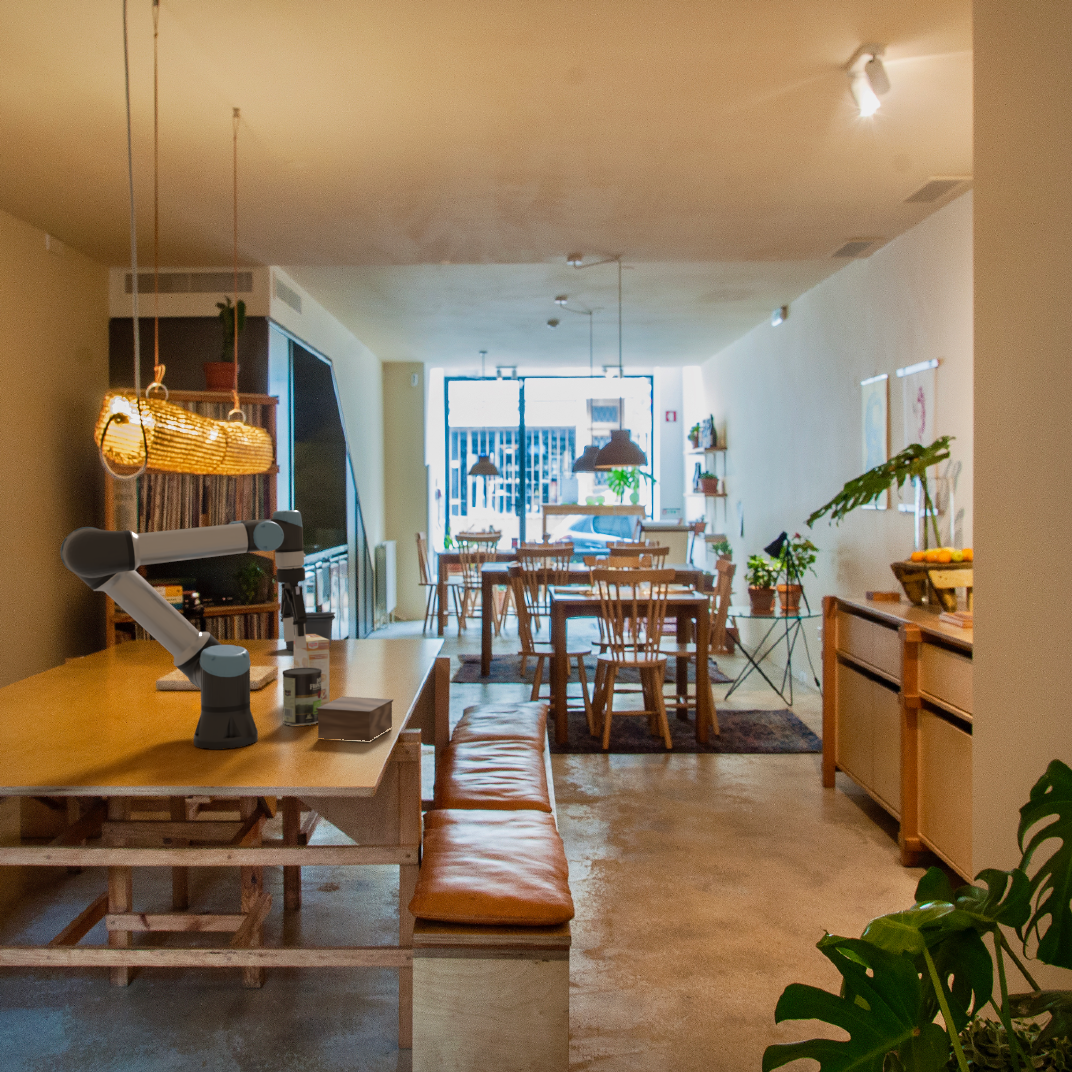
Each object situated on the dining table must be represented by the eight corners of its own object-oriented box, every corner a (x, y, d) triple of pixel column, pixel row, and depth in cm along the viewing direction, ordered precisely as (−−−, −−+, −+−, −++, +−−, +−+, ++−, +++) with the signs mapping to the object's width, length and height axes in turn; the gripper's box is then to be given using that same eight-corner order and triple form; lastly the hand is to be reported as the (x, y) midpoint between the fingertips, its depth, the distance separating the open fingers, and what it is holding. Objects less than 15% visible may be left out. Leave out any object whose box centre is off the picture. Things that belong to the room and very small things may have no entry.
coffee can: (328, 718, 256) (327, 667, 255) (311, 727, 246) (311, 674, 245) (293, 716, 258) (293, 666, 258) (276, 725, 248) (275, 673, 247)
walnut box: (370, 743, 229) (369, 711, 229) (316, 739, 233) (316, 708, 233) (393, 729, 244) (393, 699, 243) (342, 726, 247) (342, 696, 247)
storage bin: (278, 651, 370) (278, 616, 370) (285, 645, 386) (285, 611, 385) (332, 651, 372) (332, 615, 372) (337, 645, 388) (337, 611, 387)
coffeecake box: (330, 705, 273) (330, 639, 272) (306, 707, 269) (306, 641, 269) (316, 696, 286) (315, 633, 285) (293, 698, 282) (292, 634, 282)
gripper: (315, 569, 242) (320, 649, 243) (293, 563, 264) (298, 636, 266) (286, 571, 239) (291, 653, 240) (266, 565, 261) (271, 639, 262)
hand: (295, 644), depth 253 cm, fingers open, 13 cm apart
